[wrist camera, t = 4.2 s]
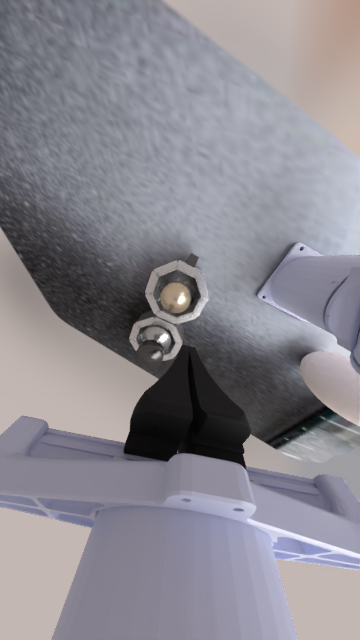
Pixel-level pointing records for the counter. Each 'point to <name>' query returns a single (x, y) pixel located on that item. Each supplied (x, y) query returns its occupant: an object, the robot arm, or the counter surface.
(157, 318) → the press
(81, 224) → the counter surface
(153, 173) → the counter surface
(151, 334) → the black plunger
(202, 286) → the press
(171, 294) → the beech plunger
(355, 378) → the egg
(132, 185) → the counter surface
